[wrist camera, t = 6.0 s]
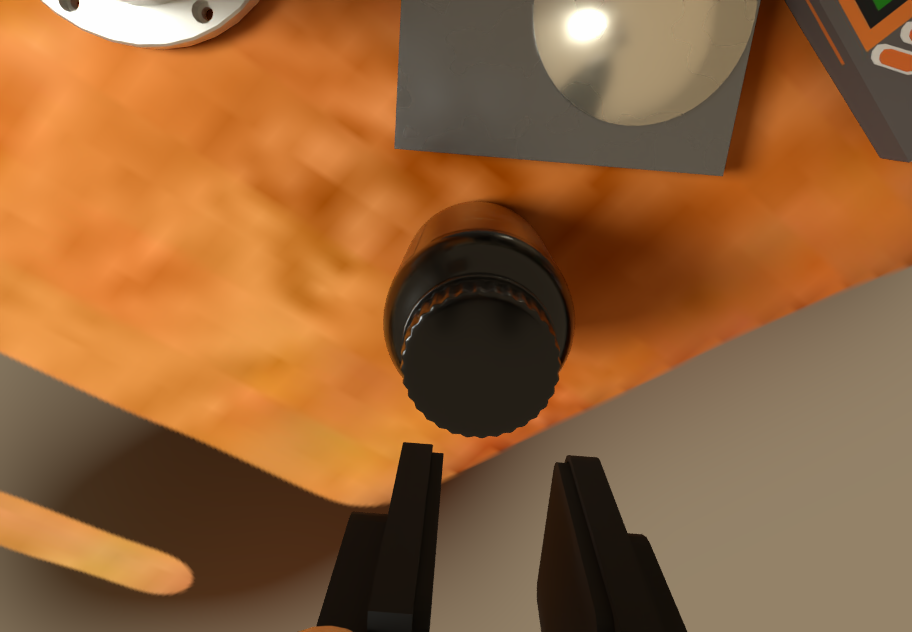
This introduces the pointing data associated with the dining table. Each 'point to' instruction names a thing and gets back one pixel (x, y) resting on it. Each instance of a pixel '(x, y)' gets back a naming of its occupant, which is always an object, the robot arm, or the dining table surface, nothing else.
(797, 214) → the dining table surface
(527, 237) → the supplement bottle
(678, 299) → the dining table surface
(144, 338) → the dining table surface
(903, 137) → the electronic device
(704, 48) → the breaker board
